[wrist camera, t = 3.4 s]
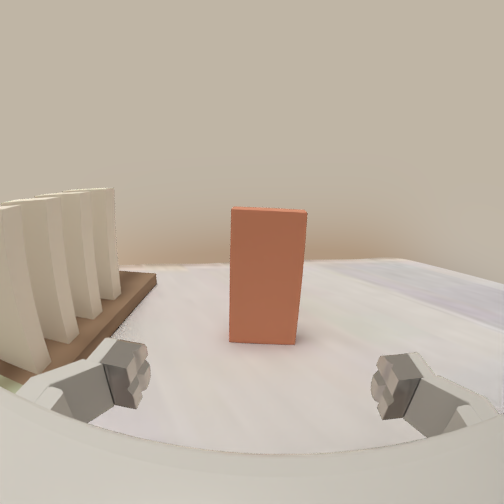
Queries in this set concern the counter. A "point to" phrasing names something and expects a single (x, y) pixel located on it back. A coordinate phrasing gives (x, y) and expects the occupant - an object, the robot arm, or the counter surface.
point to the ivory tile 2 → (18, 299)
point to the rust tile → (266, 274)
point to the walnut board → (87, 330)
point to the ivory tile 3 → (48, 266)
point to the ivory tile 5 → (104, 241)
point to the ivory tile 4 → (80, 252)
